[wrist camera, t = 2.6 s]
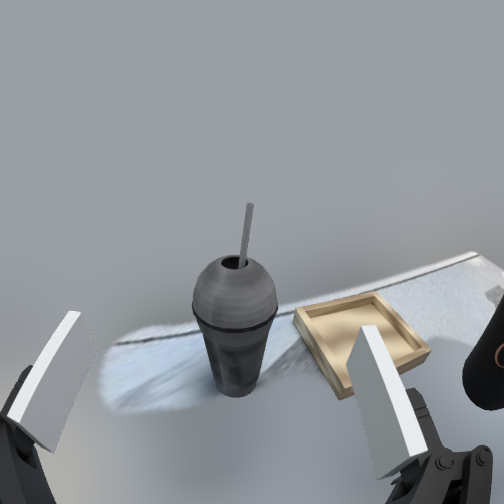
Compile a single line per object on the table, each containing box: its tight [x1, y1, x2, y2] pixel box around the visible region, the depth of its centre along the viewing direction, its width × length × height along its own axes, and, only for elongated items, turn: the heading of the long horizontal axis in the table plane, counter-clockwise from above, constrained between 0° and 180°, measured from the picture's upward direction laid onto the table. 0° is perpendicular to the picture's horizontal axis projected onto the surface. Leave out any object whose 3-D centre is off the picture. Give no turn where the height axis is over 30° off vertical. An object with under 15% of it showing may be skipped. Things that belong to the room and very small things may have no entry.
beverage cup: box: [192, 203, 278, 398], centre depth 24 cm, size 7×7×20 cm
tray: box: [293, 291, 431, 400], centre depth 33 cm, size 14×14×2 cm
